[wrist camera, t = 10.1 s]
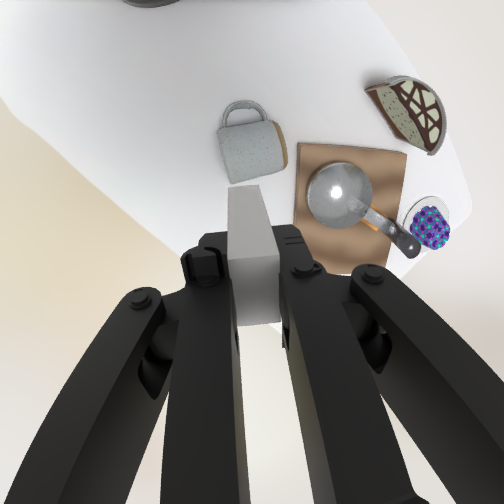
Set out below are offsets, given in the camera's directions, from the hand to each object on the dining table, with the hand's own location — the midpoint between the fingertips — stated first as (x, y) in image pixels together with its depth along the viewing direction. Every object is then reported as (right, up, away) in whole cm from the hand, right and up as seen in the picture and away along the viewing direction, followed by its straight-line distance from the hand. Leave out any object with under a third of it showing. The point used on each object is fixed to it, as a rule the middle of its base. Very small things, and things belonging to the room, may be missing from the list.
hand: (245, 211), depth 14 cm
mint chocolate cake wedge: (+23, +21, +23) cm, 39 cm away
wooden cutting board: (+16, +5, +31) cm, 35 cm away
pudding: (+34, +3, +34) cm, 48 cm away
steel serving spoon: (+17, +5, +28) cm, 33 cm away
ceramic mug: (-1, +14, +25) cm, 29 cm away
